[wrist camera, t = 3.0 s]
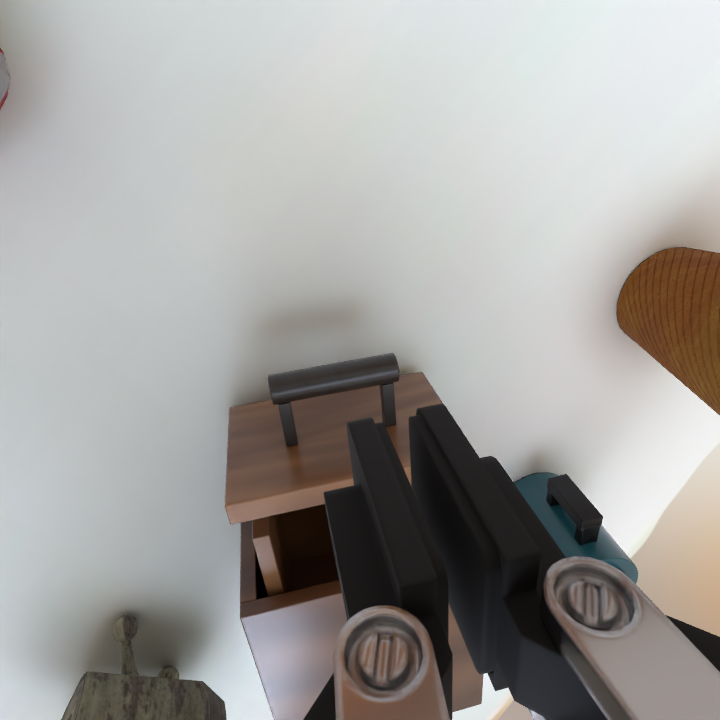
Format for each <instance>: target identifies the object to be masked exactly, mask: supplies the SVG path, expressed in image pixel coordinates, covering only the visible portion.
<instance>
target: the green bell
mask: <svg viewBox="0 0 720 720" xmlns="http://www.w3.org/2000/svg"><path fill="white" fill-rule="evenodd" d="M137 630H138V623H137V620H136V619H135V618H134V617H131V616H123V617H121V618H120V619H118V620H117V622H116V623H115V624H114V626H113V636H114V638H115V639H116V640H117V641H120V642H122V674H111V673H99V672H88V671H87V672H86V673H85V674H84V675H83V677H82V678H81V680H80V682H79V684H78V686H77V688H76V690H75V692H74V694H73V696H72V698H71V700H70V702H69V704H68V706H67V708H66V711H65V713H64V715H63V717H62V719H61V720H226V710H225V703H224V701H223V700H222V699H221V698H220V697H219V696H218V695H217V694H216V693H215V692H214V691H212V690H211V689H210V688H209V687H208V686H207V685H206V684H205V683H204V682H203V681H192V680H181V679H179V674H178V671H177V669H175V668H174V667H166V668H164V669H163V670H162V671H161V672H160V673H159V675H158V677H146V676H139V674H138V673H137V670H136V667H135V662H134V657H133V652H132V646H131V641H130V640H131V639H132V638H133V637H134V636H135V635H136V633H137Z"/></svg>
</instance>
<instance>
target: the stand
mask: <svg viewBox="0 0 720 720" xmlns="http://www.w3.org/2000/svg"><path fill="white" fill-rule="evenodd" d="M240 604H241V605H240V619H241V622H242V625H243V628H244V631H245V634H246V637H247V640H248V643H249V646H250V649H251V652H252V655H253V658H254V661H255V664H256V667H257V670H258V673H259V676H260V679H261V682H262V685H263V687H264V690H265V693H266V696H267V699H268V702H269V705H270V708H271V711H272V714H273V717H274V720H303V719H304V718H305V716H306V715H307V713H308V712H309V710H310V708H311V707H312V705H313V704H314V702H315V701H316V699H317V698H318V696H319V695H320V693H321V691H322V690H323V688H324V687H325V685H326V684H327V682H328V681H329V679H330V678H331V676H332V674H333V673H334V666H333V656H334V647H335V642H336V639H337V637H338V635H339V632H340V630H341V628H342V627H343V626H344V625H345V624H346V623H347V617H346V612H345V607H344V601H343V596H342V591H341V586H340V581H339V580H336V581H332V582H328V583H324V584H320V585H316V586H312V587H307V588H303V589H299V590H295V591H291V592H287V593H283V594H278V595H274V596H270V597H268V594H267V590H266V586H265V583H264V579H263V576H262V572H261V569H260V565H259V561H258V558H257V554H256V551H255V547H254V544H253V540H252V520H250V521H246V522H241V567H240ZM449 646H450V649H451V651H452V654H453V681H452V712H455V711H458V710H462V709H465V708H468V707H472V706H475V705H479V704H481V703H482V687H483V674H479V673H478V672H477V670H476V669H475V666H474V664H473V662H472V659H471V657H470V654H469V652H468V649H467V647H466V644H465V642H464V640H463V637H462V635H461V632H460V630H459V627H458V625H457V622H456V620H455V617H454V615H453V613H452V610H451V608H450V605H449Z"/></svg>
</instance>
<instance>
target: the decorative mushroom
mask: <svg viewBox="0 0 720 720" xmlns="http://www.w3.org/2000/svg"><path fill="white" fill-rule="evenodd" d="M9 84H10V75H9V71H8V68H7V64H6V60H5V57H4V53H3V51H2V50H1V49H0V109H1V107H2V105H3V103H4V102H5V100H6V98H7V95H8V89H9Z"/></svg>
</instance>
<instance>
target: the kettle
mask: <svg viewBox="0 0 720 720" xmlns="http://www.w3.org/2000/svg"><path fill="white" fill-rule="evenodd" d="M514 484H515V486H516V487H517V488H518V490H519V491H520V493H521V494H522V496H523V497H524V498H525V500H526V501H527V503H528V504H529V506H530V507H531V508H532V510H533V511H534V513H535V514H536V515H537V517H538V518H539V520H540V521H541V523H542V524H543V525H544V527H545V528H546V530H547V531H548V532H549V534H550V535H551V537H552V538H553V540H554V541H555V542H556V544H557V545H558V547H559V548H560V550H561V551H562V552H563V554H564V555H565V557H566V558H569V557H574V556H579V557H590V558H594V559H597V560H601V561H604V562H606V563H608V564H610V565H612V566H613V567H615V568H617V569H619V570H620V571H621V572H623V573H624V574H625V575H626V576H627V577H629V578H630V579H631V580H632V581H633V582H634V583H635V584H636V582H637V579H638V571H637V568H636V566H635V564H634V563H633V562H632V561H631V560H630V558H629V557H628V556H627V555H626V554H625V553H624V551H623V550H622V549H621V548H620V547H619V545H618V544H617V543H616V542H615V541H614V539H613V538H612V537H611V536H610V535H609V534H608V532H607V531H606V530H605V529H604V528H603V526H602V525H601V524H602V519H603V516H602V515H601V514H600V513H599V511H598V510H597V509H596V508H595V507H594V506H593V504H592V503H591V502H590V501H589V500H588V499H587V497H586V496H585V495H584V494H583V493H582V492H581V491H580V489H579V488H578V487H577V486H576V485H575V484H574V482H573V481H572V480H571V479H570V478H569V477H568V475H567V474H564V475H560V476H557V475H555V474H552V473H536V474H532V475H529V476H526V477H524V478H522V479H520V480H518V481H517V482H515V483H514Z"/></svg>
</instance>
